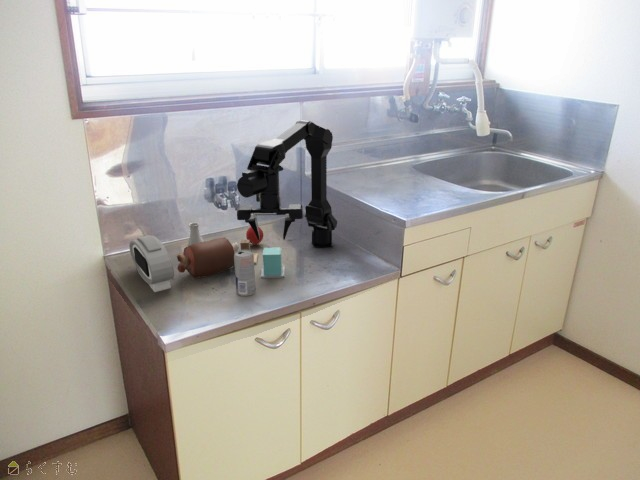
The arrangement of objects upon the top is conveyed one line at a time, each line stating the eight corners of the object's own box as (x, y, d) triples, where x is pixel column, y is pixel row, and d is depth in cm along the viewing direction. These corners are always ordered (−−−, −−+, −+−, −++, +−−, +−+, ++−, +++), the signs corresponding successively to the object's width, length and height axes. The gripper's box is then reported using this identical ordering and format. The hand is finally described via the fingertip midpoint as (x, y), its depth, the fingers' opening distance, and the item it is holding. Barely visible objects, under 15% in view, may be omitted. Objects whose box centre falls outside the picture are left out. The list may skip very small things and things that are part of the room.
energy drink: (246, 285, 151) (244, 247, 146) (259, 291, 147) (257, 252, 143) (232, 292, 147) (229, 253, 142) (245, 298, 144) (243, 258, 139)
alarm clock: (132, 267, 162) (126, 229, 157) (152, 263, 165) (146, 225, 161) (155, 297, 144) (149, 255, 139) (176, 291, 147) (171, 250, 143)
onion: (244, 243, 180) (243, 221, 177) (260, 240, 182) (259, 219, 179) (249, 249, 175) (248, 227, 172) (266, 246, 177) (265, 224, 174)
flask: (202, 257, 169) (199, 228, 166) (181, 255, 171) (178, 227, 167) (211, 248, 176) (208, 221, 172) (191, 247, 177) (188, 219, 173)
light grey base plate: (284, 267, 162) (284, 248, 159) (284, 277, 155) (283, 258, 153) (262, 268, 162) (261, 249, 159) (260, 278, 155) (259, 258, 153)
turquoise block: (281, 267, 161) (281, 247, 158) (281, 274, 156) (280, 254, 153) (264, 267, 160) (263, 247, 158) (263, 275, 156) (262, 254, 153)
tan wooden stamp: (257, 255, 171) (256, 237, 168) (256, 264, 164) (255, 245, 162) (236, 255, 170) (235, 237, 168) (234, 264, 164) (232, 245, 162)
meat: (230, 259, 169) (228, 229, 165) (248, 271, 160) (247, 240, 156) (171, 274, 157) (167, 243, 153) (187, 289, 149) (184, 256, 145)
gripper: (301, 180, 156) (302, 229, 162) (239, 181, 155) (242, 230, 161) (302, 191, 146) (303, 242, 152) (235, 192, 145) (238, 244, 151)
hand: (271, 239), depth 154 cm, fingers open, 7 cm apart
